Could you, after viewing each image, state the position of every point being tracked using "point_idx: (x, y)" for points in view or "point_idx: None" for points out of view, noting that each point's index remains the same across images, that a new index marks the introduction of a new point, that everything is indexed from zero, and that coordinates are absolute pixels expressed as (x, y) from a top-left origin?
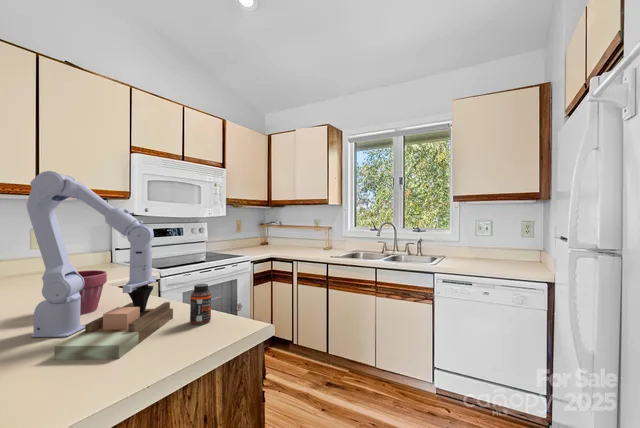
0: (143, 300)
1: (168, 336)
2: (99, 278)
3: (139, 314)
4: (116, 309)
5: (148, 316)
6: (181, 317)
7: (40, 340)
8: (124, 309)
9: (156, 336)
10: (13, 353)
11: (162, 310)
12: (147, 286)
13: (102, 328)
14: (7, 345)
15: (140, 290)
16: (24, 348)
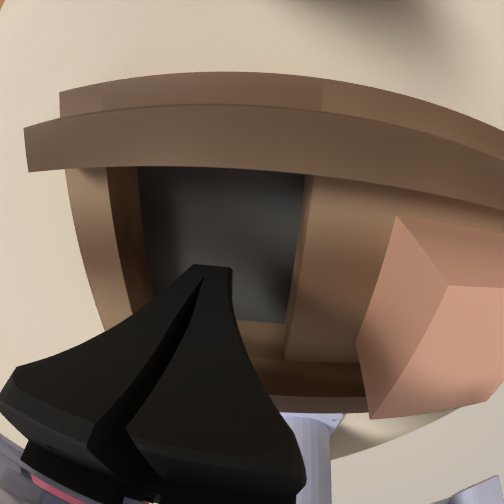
0: (242, 340)
1: (453, 11)
2: (71, 497)
3: (422, 242)
4: (430, 400)
5: (471, 148)
6: (94, 40)
7: (344, 434)
8: (463, 361)
9: (451, 70)
10: (413, 426)
11: (175, 105)
12: (61, 455)
13: None
14: (354, 452)
15: (292, 494)
16: (391, 429)
